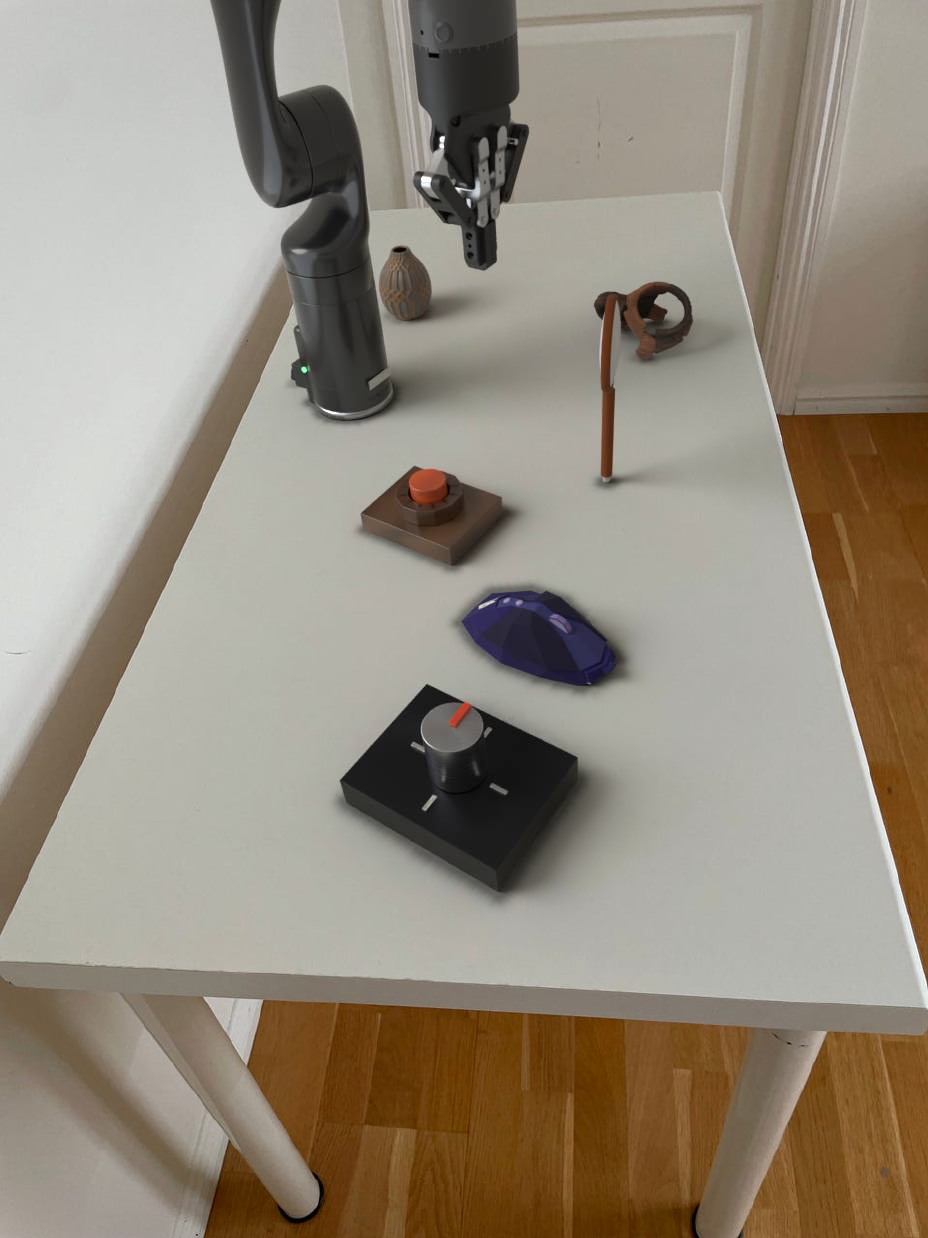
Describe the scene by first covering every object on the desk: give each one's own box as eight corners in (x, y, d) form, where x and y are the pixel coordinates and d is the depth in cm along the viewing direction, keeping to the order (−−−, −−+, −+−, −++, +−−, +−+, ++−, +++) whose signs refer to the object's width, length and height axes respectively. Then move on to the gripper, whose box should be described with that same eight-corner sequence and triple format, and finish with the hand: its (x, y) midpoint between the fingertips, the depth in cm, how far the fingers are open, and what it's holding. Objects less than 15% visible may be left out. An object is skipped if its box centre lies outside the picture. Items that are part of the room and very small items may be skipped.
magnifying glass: (610, 508, 94) (616, 323, 80) (592, 507, 94) (595, 323, 80) (618, 457, 100) (625, 277, 85) (602, 456, 100) (606, 276, 86)
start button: (403, 498, 92) (401, 484, 91) (425, 478, 94) (423, 464, 93) (433, 509, 90) (431, 495, 89) (454, 489, 92) (453, 475, 91)
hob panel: (346, 803, 72) (338, 779, 70) (430, 706, 78) (426, 682, 76) (498, 892, 66) (496, 869, 63) (578, 780, 71) (578, 755, 69)
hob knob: (467, 802, 67) (461, 758, 64) (417, 778, 69) (408, 734, 65) (498, 758, 70) (494, 713, 66) (449, 736, 72) (442, 691, 68)
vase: (444, 306, 127) (437, 242, 120) (415, 329, 123) (406, 264, 117) (402, 296, 130) (393, 233, 123) (373, 319, 126) (362, 255, 120)
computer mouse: (509, 574, 88) (507, 542, 85) (646, 641, 81) (648, 608, 78) (446, 633, 84) (441, 601, 81) (584, 709, 76) (585, 677, 73)
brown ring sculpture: (685, 321, 119) (705, 282, 111) (671, 386, 117) (690, 350, 109) (594, 297, 119) (607, 256, 111) (577, 361, 117) (590, 323, 109)
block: (363, 530, 95) (356, 498, 92) (416, 482, 100) (412, 451, 97) (451, 566, 90) (447, 534, 87) (503, 513, 95) (501, 482, 92)
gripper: (473, 0, 71) (488, 227, 84) (364, 50, 64) (398, 290, 77) (558, 6, 68) (561, 241, 80) (453, 60, 61) (473, 309, 73)
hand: (481, 265), depth 78 cm, fingers closed
